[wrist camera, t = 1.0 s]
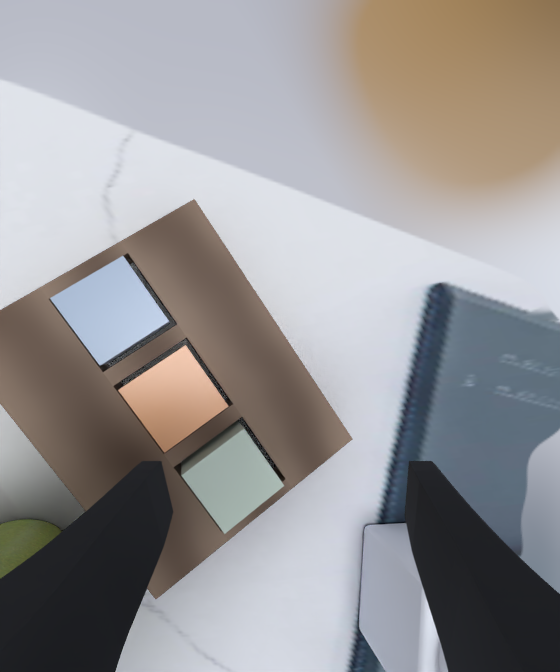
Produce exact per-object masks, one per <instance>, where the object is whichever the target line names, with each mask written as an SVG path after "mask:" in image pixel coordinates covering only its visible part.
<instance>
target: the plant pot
mask: <svg viewBox="0 0 560 672" xmlns="http://www.w3.org/2000/svg"><path fill="white" fill-rule="evenodd" d="M61 532H62V531H61V530H60V529H59V528H58V527H57V526H55V525H53V524H50V523H48V522H45V521H40V520H32V519H22V520H14V521H9V522H5V523H2V524H0V578H2V577H3V576H5V575H6V574H8V573H9V572H10V571H12V570H13V569H14V568H16V567H17V566H19V565H20V564H21V563H23V562H24V561H25V560H27V559H28V558H30V557H31V556H32V555H33V554H35V553H36V552H37V551H39V550H40V549H41V548H43V547H44V546H45V545H46V544H48V543H49V542H50V541H51V540H53V539H54V538H55V537H56V536H57V535H59V534H60V533H61Z"/></svg>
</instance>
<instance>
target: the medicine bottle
mask: <svg viewBox="0 0 560 672" xmlns="http://www.w3.org/2000/svg"><path fill="white" fill-rule="evenodd" d="M359 628H360V631H361V632H362V634H363V636H364V637H365V639H366V640H367V642H368V644H369V645H370V647H371V648H372V650H373V652H374V653H375V655H376V657H377V658H378V660H379V661H380V663H381V665H382V666H383V668H384V669H385V671H386V672H448V668H447V665H446V661H445V657H444V654H443V650H442V647H441V643H440V640H439V637H438V634H437V630H436V627H435V624H434V621H433V618H432V615H431V611H430V608H429V605H428V602H427V599H426V596H425V592H424V589H423V586H422V583H421V580H420V576H419V573H418V570H417V567H416V564H415V560H414V557H413V554H412V549H411V545H410V540H409V535H408V530H407V525H406V523H397V524H377V525H367V526H366V527H365V530H364V546H363V563H362V580H361V596H360V613H359Z"/></svg>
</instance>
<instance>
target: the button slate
mask: <svg viewBox="0 0 560 672" xmlns="http://www.w3.org/2000/svg"><path fill="white" fill-rule="evenodd" d="M50 299H51V300H52V302H53V303H54V304H55V306H56V307H57V309H58V310H59V311H60V313H61V314H62V315H63V317H64V318H65V319H66V321H67V322H68V323H69V325H70V326H71V327H72V329H73V330H74V331H75V333H76V334H77V335H78V337H79V338H80V340H81V341H82V342H83V344H84V345H85V346H86V348H87V349H88V350H89V352H90V353H91V354H92V356H93V357H94V358H95V360H96V361H97V362H98V364H99V365H100V366H101V365H104V364H108V363H110V362H111V361H113V360H114V359H116V358H117V357H119V356H121V355H122V354H124V353H125V352H127V351H128V350H130V349H131V348H133V347H135V346H136V345H138V344H139V343H141V342H142V341H144V340H145V339H147V338H148V337H150V336H152V335H153V334H155V333H156V332H158V331H159V330H161V329H162V328H164V327H166V326H167V325H169V324H170V322H169V320H168V319H167V318H166V316H165V315H164V313H163V312H162V310H161V309H160V308H159V306H158V305H157V303H156V302H155V301H154V299H153V298H152V296H151V295H150V293H149V292H148V291H147V289H146V288H145V286H144V285H143V283H142V282H141V281H140V279H139V278H138V276H137V275H136V273H135V272H134V271H133V269H132V268H131V266H130V265H129V263H128V262H127V261H126V259H125V258H124V256H122V257H120V258H118V259H116V260H115V261H113V262H111V263H110V264H108V265H106V266H104V267H103V268H101V269H99V270H98V271H96V272H94V273H92V274H91V275H89V276H87V277H86V278H84V279H82V280H80V281H79V282H77V283H75V284H73V285H72V286H70V287H68V288H67V289H65V290H63V291H61V292H60V293H58V294H56V295H55V296H53V297H51V298H50Z"/></svg>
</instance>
